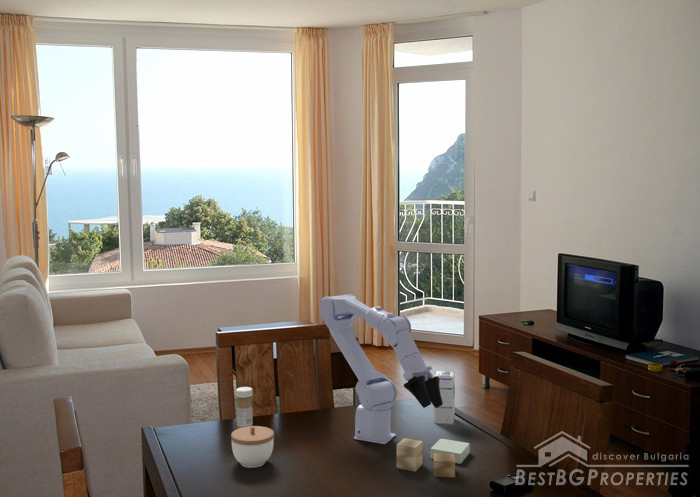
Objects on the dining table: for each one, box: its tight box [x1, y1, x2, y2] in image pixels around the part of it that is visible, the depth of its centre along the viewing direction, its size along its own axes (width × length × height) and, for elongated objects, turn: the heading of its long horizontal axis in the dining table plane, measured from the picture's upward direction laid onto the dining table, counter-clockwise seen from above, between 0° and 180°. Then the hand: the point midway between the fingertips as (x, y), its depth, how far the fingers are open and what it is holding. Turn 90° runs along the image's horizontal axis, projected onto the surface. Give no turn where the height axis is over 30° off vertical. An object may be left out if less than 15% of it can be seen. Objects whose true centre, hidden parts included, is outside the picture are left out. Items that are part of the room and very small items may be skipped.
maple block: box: [395, 437, 424, 472], centre depth 172 cm, size 5×5×6 cm
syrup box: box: [433, 370, 456, 425], centre depth 205 cm, size 6×6×14 cm
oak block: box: [433, 453, 456, 478], centre depth 168 cm, size 5×5×4 cm
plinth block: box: [430, 438, 471, 465], centre depth 179 cm, size 8×8×3 cm
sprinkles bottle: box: [235, 386, 254, 430], centre depth 192 cm, size 5×5×14 cm
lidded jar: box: [230, 425, 275, 469], centre depth 173 cm, size 11×11×9 cm
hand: (433, 406), depth 173 cm, fingers open, 7 cm apart
